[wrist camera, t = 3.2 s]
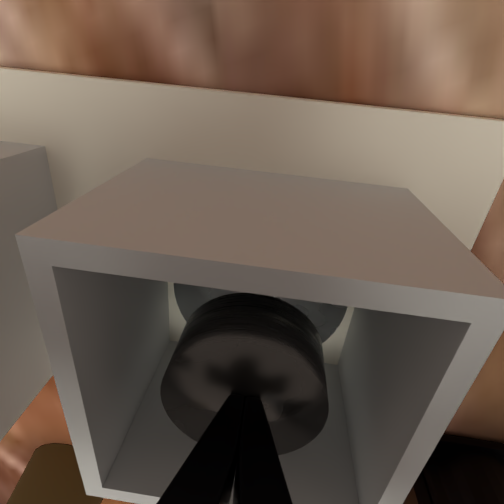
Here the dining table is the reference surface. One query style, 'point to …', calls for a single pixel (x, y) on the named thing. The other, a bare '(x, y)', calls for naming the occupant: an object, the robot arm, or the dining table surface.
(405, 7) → the dining table surface
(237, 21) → the dining table surface
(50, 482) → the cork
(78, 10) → the dining table surface
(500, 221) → the dining table surface
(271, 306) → the plunger
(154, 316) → the board
